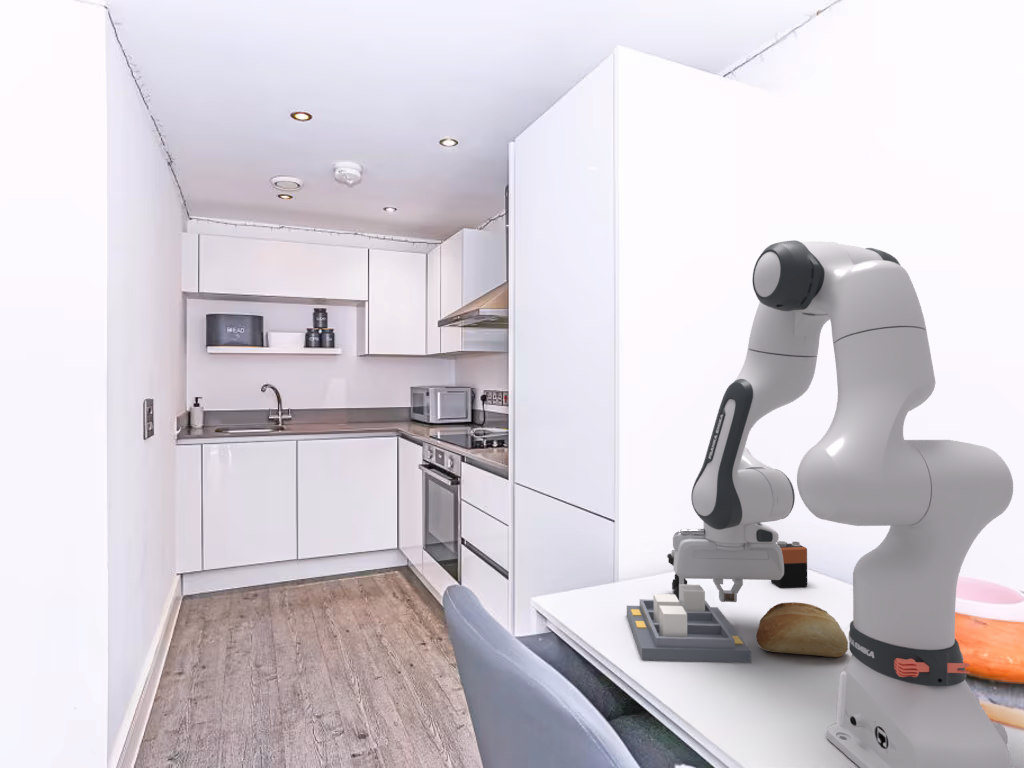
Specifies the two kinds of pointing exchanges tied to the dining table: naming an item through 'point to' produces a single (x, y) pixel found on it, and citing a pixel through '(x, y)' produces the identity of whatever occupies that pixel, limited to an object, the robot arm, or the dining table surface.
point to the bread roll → (801, 631)
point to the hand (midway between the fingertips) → (727, 601)
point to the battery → (793, 565)
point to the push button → (677, 579)
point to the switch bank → (688, 637)
